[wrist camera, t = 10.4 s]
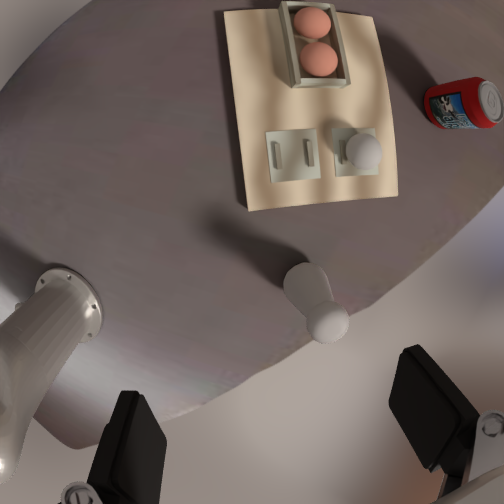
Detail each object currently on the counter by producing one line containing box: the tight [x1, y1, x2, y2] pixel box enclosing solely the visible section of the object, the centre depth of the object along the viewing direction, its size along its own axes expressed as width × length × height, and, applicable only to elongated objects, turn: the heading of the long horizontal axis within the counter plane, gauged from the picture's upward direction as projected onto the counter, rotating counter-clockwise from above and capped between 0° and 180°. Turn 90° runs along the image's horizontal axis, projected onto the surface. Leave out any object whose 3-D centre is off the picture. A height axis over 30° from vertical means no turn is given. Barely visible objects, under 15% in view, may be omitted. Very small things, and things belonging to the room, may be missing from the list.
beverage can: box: [424, 77, 504, 129], centre depth 27 cm, size 7×7×12 cm
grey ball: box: [346, 133, 382, 170], centre depth 30 cm, size 4×4×4 cm
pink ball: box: [294, 7, 331, 39], centre depth 25 cm, size 4×4×4 cm
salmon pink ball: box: [299, 42, 338, 77], centre depth 27 cm, size 4×4×4 cm
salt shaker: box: [283, 262, 349, 343], centre depth 32 cm, size 6×6×13 cm
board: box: [224, 1, 398, 211], centre depth 30 cm, size 20×26×4 cm
